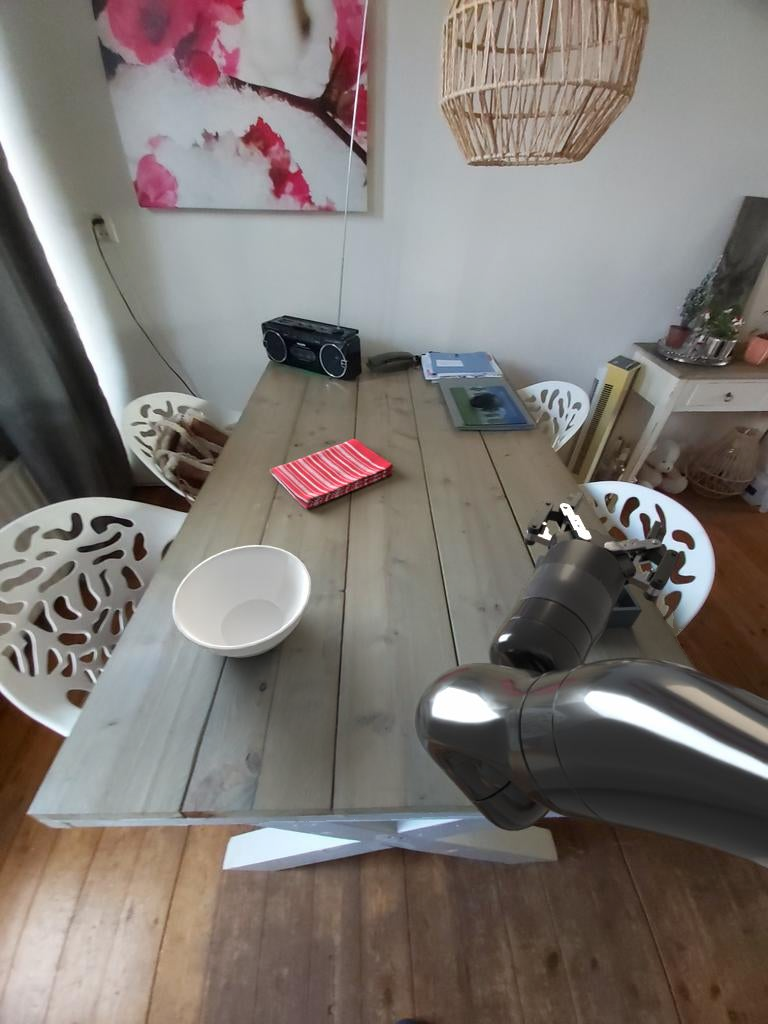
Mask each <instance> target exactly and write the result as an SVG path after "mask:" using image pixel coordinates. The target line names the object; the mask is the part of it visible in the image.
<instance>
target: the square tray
mask: <svg viewBox="0 0 768 1024" xmlns="http://www.w3.org/2000/svg"><path fill="white" fill-rule="evenodd" d="M545 555H546V554H545ZM545 555H542V554H541V555H538V557H537V560H536V563H535V566H534V569H533V572H534V571H535V570H536V568H537V567H538V565H539V564H540V562H541V561H542V559H543V558H544V556H545ZM642 611H643V609H642V607H641V605H640V604H639V602H638V600H637V599H636V598H635V595H634V594H633V593H632V591H631V589H630V587H629V586H628V585H625V586H623V588H622V590H621V593H620V595H619V597H618V599H617V602H616V604H615V606H614V608H613V611H612V613H611V615H610V617H609V620H608V622H607V625H606V628H605V629H607V628H631V627H633V626H634V624H635V622H636V621H637V619H639V616H640V615H641V613H642Z"/></svg>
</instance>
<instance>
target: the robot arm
mask: <svg viewBox="0 0 768 1024" xmlns="http://www.w3.org/2000/svg"><path fill="white" fill-rule="evenodd" d="M584 496H585V492H582V491H579V490H578V491H577V492H576V493H574V492H572V493H569V494H568V496H567V497H566V499H565V500H564V501H563V503H561V504H559V505H557V504H554V502H553V501H552V500H550V499H545V500H543V501H542V503H540V505H539V507H538V509H537V510H536V512H534V515H533V517H532V518H531V519H530V521H529V522H528V525H527V529H526V532H525V535H524V538H523V543H524V544H525V545H527V546H530V547H531V546H534V545H535V544H536V543H537V544H539V545H542V546H545V547H547V550H548V551H547V552H546V554H545V556H544V558H543V559H542V561H541V562H540V564H539V565H538V567H537V568H536V570H535V571H534V570H533V571H532V574H531V576H530V577H529V579H528V580H527V581H526V582H525V584H524V586H523V588H522V589H521V590H520V592H519V595H518V597H517V600H516V602H515V604H514V606H513V608H512V609H511V611H510V612H509V613H508V615H507V616H506V618H504V619H505V620H503V623H502V624H501V625H500V626H499V628H498V629H497V631H496V632H495V634H494V635H493V638H492V640H491V642H490V644H489V648H488V658H489V663H488V662H471V663H465V664H461V665H457V666H455V667H452V668H450V669H448V670H445V671H444V672H443V673H440V674H439V675H437V676H436V677H435V678H434V679H433V680H432V681H430V682H429V684H428V685H427V686H426V687H425V688H424V690H423V691H422V693H421V695H420V697H419V699H418V701H417V704H416V707H415V712H414V729H415V733H416V737H417V740H418V742H419V744H420V746H421V747H422V749H423V750H424V752H425V753H426V754H427V755H428V757H429V758H430V759H431V760H432V761H433V762H434V763H435V765H436V766H438V768H439V769H440V770H441V771H442V772H443V773H444V774H445V775H446V776H447V777H448V779H450V781H451V782H452V783H453V784H454V785H455V786H456V788H458V789H459V790H460V791H461V793H462V794H463V795H464V796H465V797H466V798H467V799H468V800H469V801H470V803H471V804H472V805H473V806H474V807H475V809H476V810H477V811H478V812H479V813H480V814H481V815H482V816H483V817H484V818H485V819H486V820H487V821H488V822H490V823H491V824H492V825H494V826H495V827H497V828H499V829H501V830H504V831H507V832H519V831H522V830H526V829H530V828H531V827H533V826H535V825H536V824H538V823H539V822H541V821H542V820H543V819H544V818H545V817H546V816H547V815H548V814H549V813H550V812H552V813H555V814H557V815H560V816H563V817H567V818H570V819H574V820H578V821H579V820H580V821H584V822H588V823H594V824H598V825H604V826H607V827H612V828H613V827H614V828H619V829H623V830H629V831H634V832H639V833H645V834H649V835H655V836H660V837H663V838H666V839H667V838H668V839H671V840H674V841H675V840H676V841H679V842H683V843H687V844H690V845H694V846H698V847H701V848H705V849H709V850H711V851H714V852H718V853H721V854H725V855H727V856H731V857H733V858H737V859H740V860H743V861H746V862H749V863H752V864H754V865H758V866H760V867H763V868H766V869H768V700H767V699H765V698H763V697H760V696H758V695H756V694H755V693H753V692H751V691H748V690H747V689H744V688H742V687H739V686H737V685H736V684H735V685H734V684H733V683H730V682H728V681H726V680H724V679H721V678H719V677H716V676H714V675H711V674H710V673H707V672H706V671H702V670H700V669H698V668H694V667H691V666H689V665H686V664H682V663H677V662H673V661H669V660H664V659H658V658H650V657H634V656H633V657H631V656H630V657H617V658H608V659H601V660H597V661H593V662H588V663H587V660H588V658H589V656H590V653H591V651H592V649H593V647H594V646H595V645H596V644H597V642H598V641H599V639H600V638H601V636H602V634H603V632H604V631H605V629H607V628H606V625H607V622H608V620H609V617H610V615H611V613H612V611H613V608H614V606H615V604H616V602H617V599H618V597H619V595H620V593H621V590H622V588H623V586H625V585H627V586H628V585H632V586H634V587H636V588H638V589H640V590H642V591H643V592H642V596H643V598H644V599H645V600H647V601H649V602H656V601H657V599H658V598H659V596H660V595H661V593H662V591H664V588H665V587H666V585H667V583H668V582H669V580H670V578H671V576H672V574H673V571H674V569H675V567H676V565H677V564H678V561H679V559H680V557H681V554H680V553H679V552H678V551H677V550H676V549H672V548H669V549H666V548H665V547H664V546H663V541H664V539H665V537H666V534H667V529H666V527H662V525H663V522H661V521H659V520H655V521H654V522H653V523H652V526H651V528H650V530H649V532H648V534H647V536H646V538H645V539H642V540H640V539H638V538H632V539H627V540H626V539H625V540H622V541H619V539H618V538H616V537H613V536H611V535H607V534H603V533H602V532H599V531H598V530H597V529H595V528H592V527H590V526H588V527H585V525H584V523H583V521H582V519H581V517H580V515H578V514H576V512H577V511H578V509H579V508H580V507H581V504H582V502H583V499H584ZM549 521H550V522H551V521H552V522H554V524H555V526H556V529H557V531H558V532H555V533H554V534H550V533H549V531H550V529H549V527H548V526H547V525H548V522H549ZM650 563H653V564H654V565H655V566H656V568H653V567H652V568H651V569H650V570H645V571H644V572H641V573H640V572H637V568H636V567H637V566H641V565H645V564H650Z"/></svg>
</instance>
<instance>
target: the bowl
mask: <svg viewBox="0 0 768 1024" xmlns="http://www.w3.org/2000/svg"><path fill="white" fill-rule="evenodd" d="M311 593H312V580H311V575H310V573H309V570H308V568H307V567H306V565H305V564H304V563H303V562H302V561H301V560H300V558H299V557H297V556H295V554H293V553H291V552H289V551H287V550H285V549H283V548H279V547H275V546H271V545H262V544H261V545H260V544H251V545H244V546H236V547H233V548H229V549H227V550H223V551H221V552H219V553H216V554H214V555H212V556H210V557H208V558H207V559H205V560H202V561H201V562H200V563H199V564H198V565H196V566H195V567H194V568H193V569H191V570H190V571H189V573H187V575H185V577H184V578H183V579H182V580H181V583H180V584H179V585H178V587H177V589H176V591H175V594H174V597H173V599H172V607H171V608H172V609H171V612H172V618H173V622H174V625H175V626H176V628H177V630H178V632H180V634H181V635H182V636H183V637H184V638H185V639H186V640H188V642H189V641H190V642H191V643H192V644H194V645H196V646H197V647H199V648H201V649H202V650H205V651H206V652H208V653H210V654H214V655H218V656H221V657H229V658H240V659H241V658H250V657H255V656H259V655H261V654H264V653H267V652H269V651H270V650H272V649H274V648H276V647H278V645H279V644H281V643H282V642H283V641H285V639H286V638H287V637H289V635H291V633H292V632H293V631H294V629H296V628H297V626H298V625H299V623H300V621H301V619H302V617H303V615H304V614H305V612H306V609H307V606H308V604H309V601H310V598H311Z"/></svg>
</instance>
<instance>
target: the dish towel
mask: <svg viewBox="0 0 768 1024" xmlns="http://www.w3.org/2000/svg"><path fill="white" fill-rule="evenodd" d="M393 469H394V466H393V463H391V462H389V460H387V459H385V458H383V457H382V456H380V455H379V454H378V453H376V452H375V451H373V450H372V449H370V447H369V448H368V446H366V445H365V444H364V443H362V442H361V441H360V440H359V439H356V438H352V439H349V440H347V441H345V442H343V443H340V444H337V445H334V446H331V447H329V448H326V449H324V450H320V451H318V452H315V453H312V454H310V455H307V456H305V457H301V458H299V459H296V460H293V461H291V462H288V463H285V464H281V465H278V466H276V467H273V468H270V469H269V472H270V473H271V475H272V477H274V478H275V479H276V480H277V481H278V483H279V484H280V485H282V486H283V488H285V490H286V491H287V492H288V493H289V494H290V495H291V496H292V498H293V499H295V500H296V501H297V503H298V504H300V505H301V506H302V507H303V508H304V509H305V510H306V511H308V510H311V509H313V508H316V507H318V506H320V505H323V504H324V503H325V504H326V503H328V502H329V501H331V500H334V499H337V498H339V497H341V496H344V495H346V494H349V493H351V492H354V491H357V490H359V489H362V488H364V487H366V486H368V485H371V484H373V483H376V482H378V481H380V480H383V479H386V478H387V477H390V476H392V475H393V471H392V470H393Z"/></svg>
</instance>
